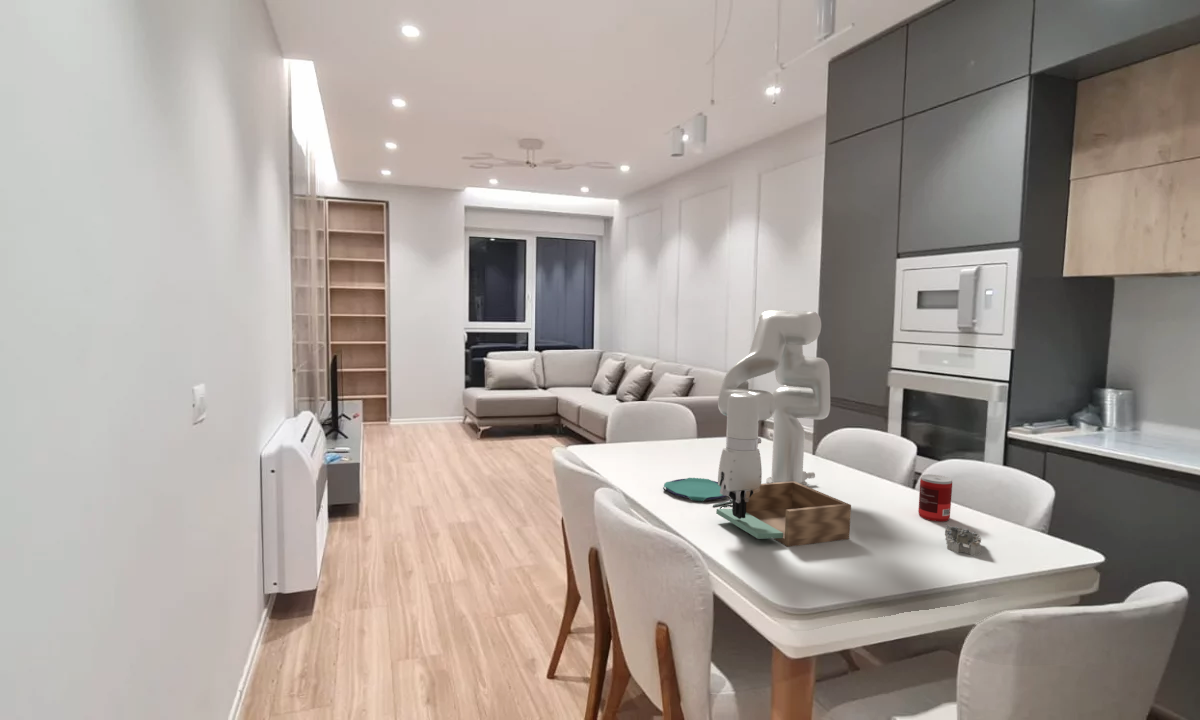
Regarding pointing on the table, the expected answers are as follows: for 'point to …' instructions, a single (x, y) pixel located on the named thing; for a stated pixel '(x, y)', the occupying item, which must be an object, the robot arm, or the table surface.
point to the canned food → (935, 497)
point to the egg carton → (962, 540)
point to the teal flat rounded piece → (696, 490)
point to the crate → (800, 513)
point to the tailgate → (751, 525)
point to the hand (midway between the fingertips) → (739, 516)
